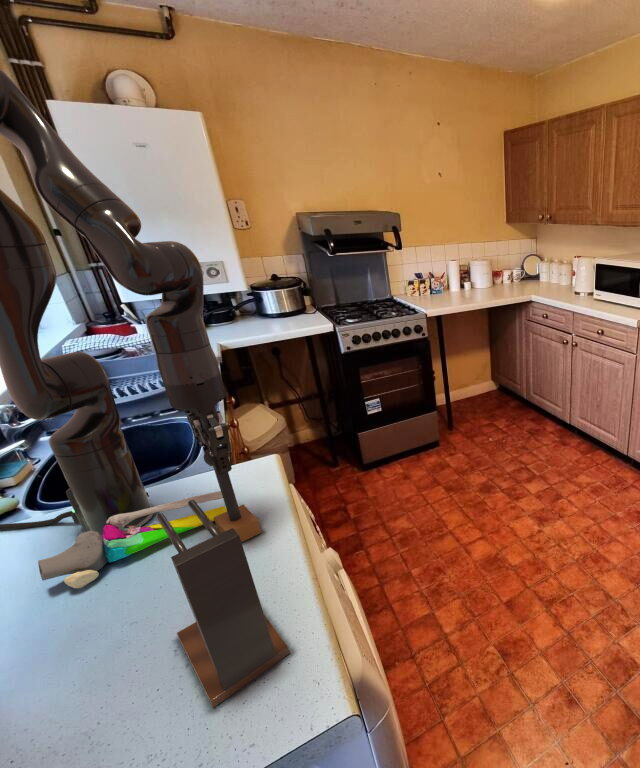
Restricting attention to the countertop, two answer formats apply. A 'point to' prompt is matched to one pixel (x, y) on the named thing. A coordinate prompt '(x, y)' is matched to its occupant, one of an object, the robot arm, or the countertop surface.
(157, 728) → the countertop surface
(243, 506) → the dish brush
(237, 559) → the upright panel stand
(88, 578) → the knee model
